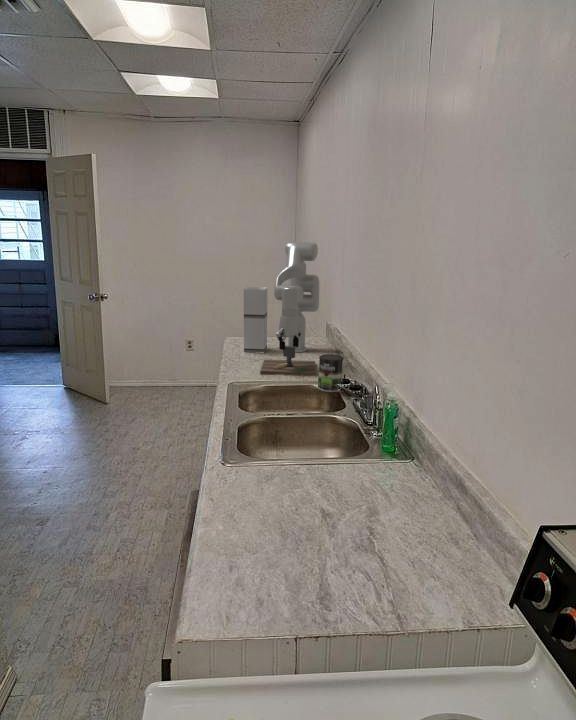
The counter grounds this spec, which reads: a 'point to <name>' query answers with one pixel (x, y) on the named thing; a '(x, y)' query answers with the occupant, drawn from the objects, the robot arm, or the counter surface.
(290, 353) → the tuning peg
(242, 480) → the counter surface
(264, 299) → the tall grey two-section tower
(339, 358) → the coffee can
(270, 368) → the wooden cutting board
